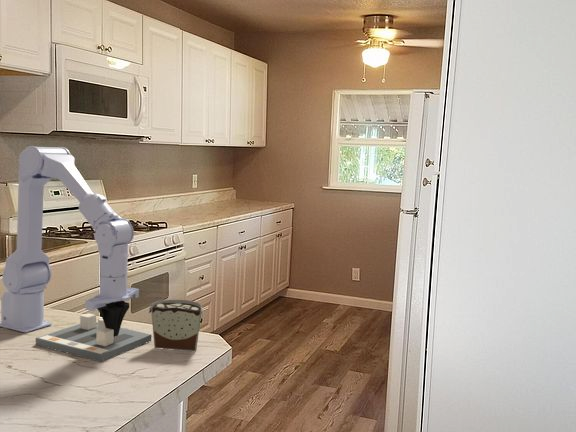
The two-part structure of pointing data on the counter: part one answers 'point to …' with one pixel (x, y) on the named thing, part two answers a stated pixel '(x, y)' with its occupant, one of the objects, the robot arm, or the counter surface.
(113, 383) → the counter surface
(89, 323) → the beige small block
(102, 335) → the tab
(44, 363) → the counter surface
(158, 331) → the food container
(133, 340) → the switch board
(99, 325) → the tab
